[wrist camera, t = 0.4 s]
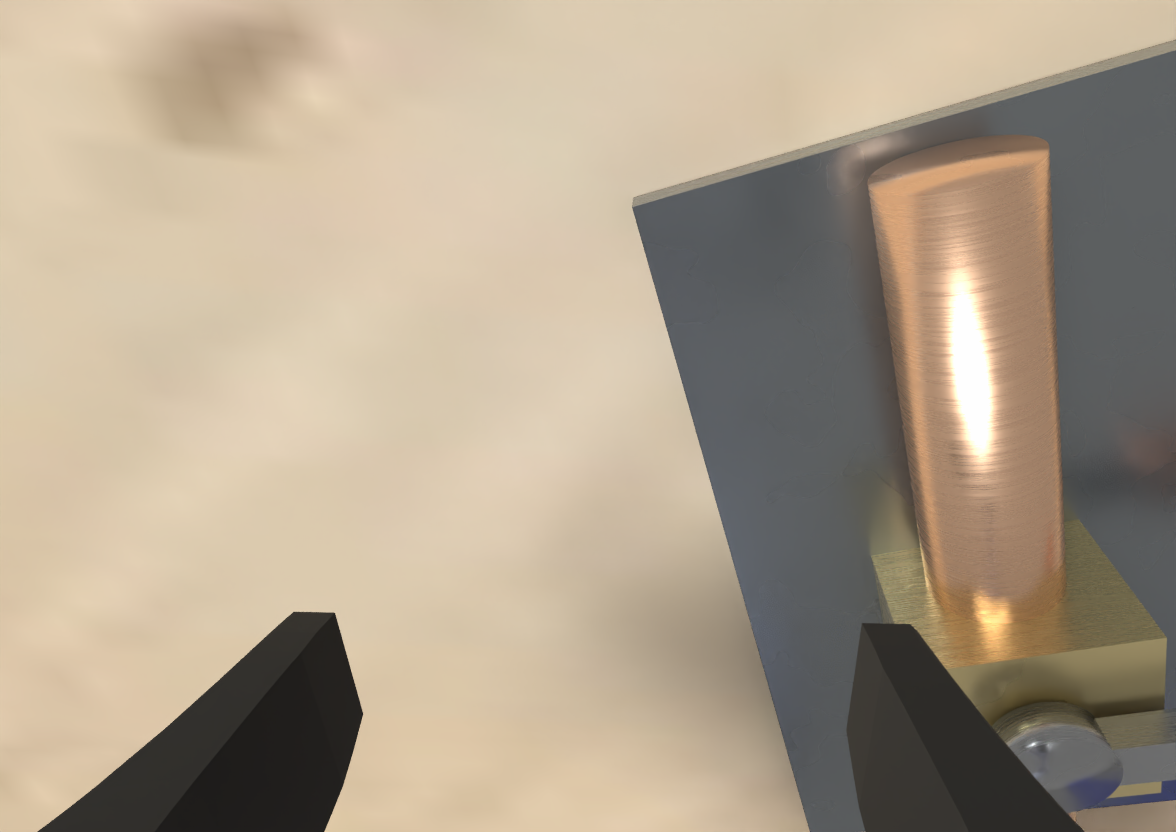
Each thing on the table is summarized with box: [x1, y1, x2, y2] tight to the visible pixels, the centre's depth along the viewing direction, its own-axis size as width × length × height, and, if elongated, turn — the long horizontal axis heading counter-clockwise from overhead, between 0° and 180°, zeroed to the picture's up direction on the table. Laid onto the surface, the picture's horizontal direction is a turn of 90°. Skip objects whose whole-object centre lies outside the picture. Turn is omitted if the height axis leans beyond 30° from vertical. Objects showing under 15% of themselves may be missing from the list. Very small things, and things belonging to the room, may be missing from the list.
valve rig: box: [632, 40, 1176, 832], centre depth 19 cm, size 22×16×5 cm
